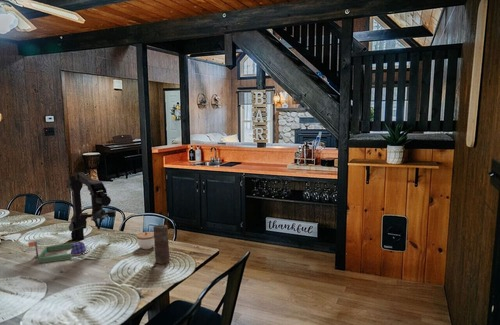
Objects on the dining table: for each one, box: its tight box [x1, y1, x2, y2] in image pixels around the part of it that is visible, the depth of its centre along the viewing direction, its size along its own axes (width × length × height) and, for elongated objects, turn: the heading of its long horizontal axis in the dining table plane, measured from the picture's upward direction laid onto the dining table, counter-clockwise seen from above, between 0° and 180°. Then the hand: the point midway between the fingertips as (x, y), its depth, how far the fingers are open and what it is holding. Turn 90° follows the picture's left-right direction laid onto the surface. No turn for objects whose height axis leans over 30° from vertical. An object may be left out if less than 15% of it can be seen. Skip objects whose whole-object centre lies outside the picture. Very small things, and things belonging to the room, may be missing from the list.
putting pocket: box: [27, 241, 75, 264], centre depth 192 cm, size 21×18×9 cm
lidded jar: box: [136, 231, 155, 250], centre depth 203 cm, size 11×11×9 cm
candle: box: [152, 224, 171, 265], centre depth 182 cm, size 8×7×20 cm
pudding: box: [66, 241, 91, 256], centre depth 197 cm, size 12×12×5 cm
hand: (98, 229), depth 200 cm, fingers closed
